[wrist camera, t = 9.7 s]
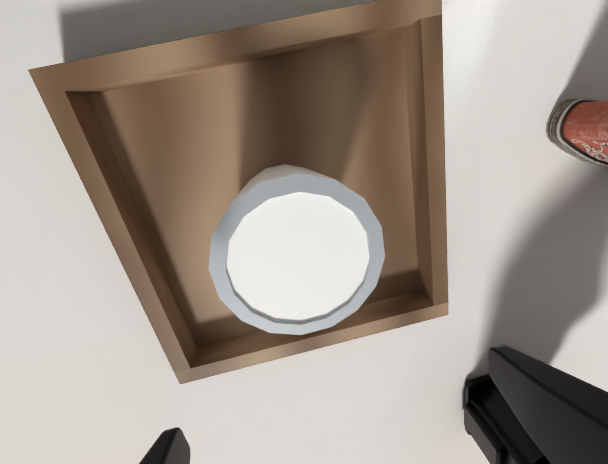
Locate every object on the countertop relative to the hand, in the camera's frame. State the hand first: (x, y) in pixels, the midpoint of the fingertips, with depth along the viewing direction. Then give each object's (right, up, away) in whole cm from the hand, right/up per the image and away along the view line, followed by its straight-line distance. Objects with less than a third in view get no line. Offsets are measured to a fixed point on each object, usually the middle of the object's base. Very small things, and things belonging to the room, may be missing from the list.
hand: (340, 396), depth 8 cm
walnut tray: (-2, +6, +10) cm, 12 cm away
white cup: (-2, +6, +10) cm, 12 cm away
